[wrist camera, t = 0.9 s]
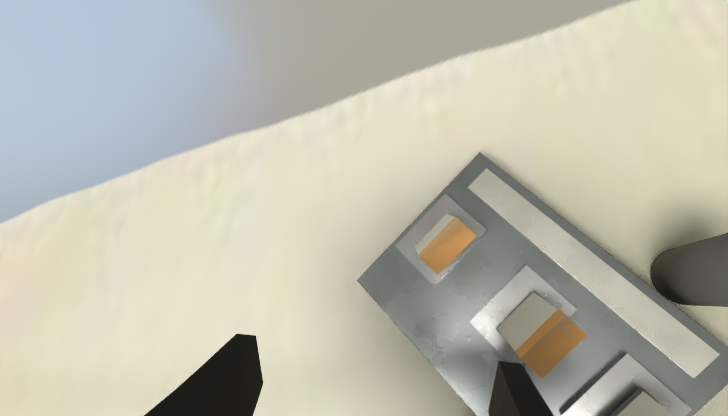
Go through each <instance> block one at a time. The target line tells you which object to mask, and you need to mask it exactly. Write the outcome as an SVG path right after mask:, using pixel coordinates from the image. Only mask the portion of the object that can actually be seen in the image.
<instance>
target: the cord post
mask: <svg viewBox="0 0 728 416" xmlns="http://www.w3.org/2000/svg"><path fill="white" fill-rule="evenodd" d="M651 277H652V281H653V283H654V285H655V287H656V289H657V290H658V291H659V292H660V293H661V294H662V295H663V296H664V297H666V298H667V299H669V300H671V301H673V302H675V303H679V304H683V305H699V306H724V307H728V233H726V234H723V235H719V236H716V237H712V238H709V239H705V240H702V241H698V242H695V243H692V244H688V245H685V246H681V247H678V248H674V249H671V250H668V251H665V252H664V253H662V254H660V255H659V256H658V257H657V258H656V259H655V261H654V263H653V265H652V269H651Z"/></svg>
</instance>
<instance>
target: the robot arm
mask: <svg viewBox="0 0 728 416" xmlns="http://www.w3.org/2000/svg"><path fill="white" fill-rule="evenodd" d="M262 385H263V379H262V373H261V366H260V360H259V354H258V347H257V341H256V336H253V335H243V334H236V335H235V336H234V337H233V338H232V339H230V340H229V341H228V342H227V343H226V344H225V345H224V346H223V347H222V348H221V349H220V350H219V351H218V352H216V353H215V354H214V355H213V356H212V357H211V358H210V359H209V360H208V361H207V362H206V363H205V364H204V365H202V366H201V367H200V368H199V369H198V370H197V371H196V372H195V373H194V374H193V375H191V376H190V377H189V378H188V379H187V380H186V381H185V382H184V383H182V384H181V385H180V386H179V387H178V388H177V389H176V390H174V391H173V392H172V393H171V394H170V395H169V396H167V397H166V398H165V399H164V400H163V401H161V402H160V403H159V404H158V405H156V406H155V407H154V408H153V409H152V410H150V411H149V412H148V413H147V414H146V415H144V416H253V413H254V410H255V407H256V404H257V401H258V398H259V395H260V392H261V388H262ZM488 412H489V416H554V415H553V413H552V411H551V410H550V408H549V407H548V405H547V404H546V402H545V401H544V399H543V397H542V396H541V394H540V393H539V391H538V389H537V388H536V386H535V385H534V383H533V381H532V380H531V378H530V376H529V375H528V373H527V371H526V369H525V368H524V366H523V365H522V364H521V363H512V362H503V361H498V366H497V371H496V375H495V380H494V385H493V390H492V395H491V400H490V405H489V410H488Z"/></svg>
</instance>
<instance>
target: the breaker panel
mask: <svg viewBox="0 0 728 416" xmlns="http://www.w3.org/2000/svg"><path fill="white" fill-rule="evenodd" d="M446 213H447V214H450V215H451V216H454V217H456V218H458V219H459V220H460V221H461V222H462V223H463V224H464V225H465V226H467V227H468V228H469V229H470V230H471V231H472V232H473V233H474V234H475V235H476V237H475V238H474V239H473V240H472V241H471V242H470V243H469V244H468V245H467V246H466V247H465V248H464V249H463V250H462V251H461V253H460V254H459V255H458V256H457V257H456V258H455V259H454V260H453V261H452V262H451V263H450V264H449V265H448V266H447V267H446V268H445V269H444V270H443V271H442V272H441V273H440V274H439V275H437V274H436V273H435V272H434V271H433V270H432V269H431V268H430V267H429V266H428V265H427V264H426V263H425V262H424V261H423V260H421V259H420V258H419V256H418V253H417V251H416V250H415V246H416V244H417V243H418V242H419V241H420V240H421V239H422V238H423V237H424V236H425V235H426V234H427V233H428V232H429V231H430V230H431V229H432V228H433V227H434V226H435V225H436V224H437V223H438V222H439V221H440V220H441V219H442V218H443V217H444V216H445V215H446ZM357 281H358V282H359V283H360V284H361V285H362V287H363V288H364V289H365V290H366V291H367V292H368V293H369V295H370V296H371V297H372V298H373V299H374V300H375V301H376V302H377V304H378V305H379V306H380V307H381V308H382V309H383V310H384V311H385V313H386V314H387V315H388V316H389V317H390V318H391V319H392V320H393V322H394V323H395V324H396V325H397V326H398V327H399V328H400V329H401V331H402V332H403V333H404V334H405V335H406V336H407V337H408V339H409V340H410V341H411V342H412V343H413V344H414V345H415V346H416V348H417V349H418V350H419V351H420V352H421V353H422V354H423V355H424V357H425V358H426V359H427V360H428V361H429V362H430V363H431V364H432V366H433V367H434V368H435V369H436V370H437V371H438V372H439V373H440V375H441V376H442V377H443V378H444V379H445V380H446V381H447V383H448V384H449V385H450V386H451V387H452V388H453V389H454V390H455V392H456V393H457V394H458V395H459V396H460V397H461V398H462V399H463V401H464V402H465V403H466V404H467V405H468V406H469V407H470V408H471V410H472V411H473V412H474V413H475V414H476V415H477V416H489V412H488V410H489V405H490V400H491V395H492V390H493V385H494V380H495V375H496V371H497V366H498V361H503V362H512V363H521V364H522V365H523V366H524V368H525V369H526V371H527V373H528V375H529V376H530V378H531V380H532V381H533V383H534V385H535V386H536V388H537V389H538V391H539V393H540V394H541V396H542V397H543V399H544V401H545V402H546V404H547V405H548V407H549V408H550V410H551V411H552V413H553V415H554V416H610V415H611V414H612V413H613V412H614V411H615V410H616V409H617V408H619V407H620V406H621V405H622V404H623V403H624V402H625V401H626V400H627V399H628V398H629V397H630V396H631V395H632V394H634V393H635V392H636V391H637V390H638V389H639V388H640V387H642V388H643V389H644V390H646V391H647V392H648V393H649V394H650V395H651V396H653V397H654V398H655V399H656V400H657V401H658V402H659V403H660V405H661V406H663V407H664V408H665V409H666V410H668V411H669V412H670V413H671V414H673V415H674V416H693V415H694V414H695V413H696V412H697V411H698V410H700V409H701V408H702V407H703V406H704V405H705V404H706V403H707V402H708V401H709V400H711V399H712V398H713V397H714V396H715V395H716V394H717V393H718V392H719V391H720V390H722V389H723V388H724V387H725V386H726V385H727V384H728V347H727V346H726V345H724V344H723V343H722V342H721V341H719V340H718V339H717V338H715V337H714V336H713V335H712V334H710V333H709V332H708V331H707V330H705V329H704V328H703V327H701V326H700V325H699V324H698V323H696V322H695V321H694V320H692V319H691V318H690V317H689V316H687V315H686V314H685V313H684V312H682V311H681V310H680V309H678V308H677V307H676V306H675V305H673V304H672V303H671V302H670V301H668V300H667V299H666V298H664V297H663V296H662V295H661V294H659V293H658V292H657V291H656V290H654V289H653V288H652V287H650V286H649V285H648V284H647V283H645V282H644V281H643V280H642V279H640V278H639V277H638V276H636V275H635V274H634V273H633V272H631V271H630V270H629V269H628V268H626V267H625V266H624V265H622V264H621V263H620V262H619V261H617V260H616V259H615V258H614V257H612V256H611V255H610V254H608V253H607V252H606V251H605V250H603V249H602V248H601V247H600V246H598V245H597V244H596V243H594V242H593V241H592V240H591V239H589V238H588V237H587V236H586V235H584V234H583V233H582V232H580V231H579V230H578V229H577V228H575V227H574V226H573V225H572V224H570V223H569V222H568V221H566V220H565V219H564V218H563V217H561V216H560V215H559V214H558V213H556V212H555V211H554V210H552V209H551V208H550V207H549V206H547V205H546V204H545V203H543V202H542V201H541V200H540V199H538V198H537V197H536V196H535V195H533V194H532V193H531V192H529V191H528V190H527V189H526V188H524V187H523V186H522V185H521V184H519V183H518V182H517V181H515V180H514V179H513V178H512V177H510V176H509V175H508V174H507V173H505V172H504V171H503V170H501V169H500V168H499V167H498V166H496V165H495V164H494V163H493V162H491V161H490V160H489V159H487V158H486V157H485V156H484V155H482V154H481V153H479V154H478V155H477V156H476V157H475V158H474V159H473V160H472V161H471V162H470V163H469V164H468V165H467V166H466V167H465V168H464V169H463V170H462V171H461V173H460V174H459V175H458V176H457V177H456V178H455V179H454V180H453V181H452V182H451V183H450V184H449V185H448V186H447V187H446V188H445V189H444V190H443V191H442V192H441V193H440V194H439V195H438V196H437V198H436V199H435V200H434V201H433V202H432V203H431V204H430V205H429V206H428V207H427V208H426V209H425V210H424V211H423V212H422V213H421V214H420V215H419V216H418V217H417V218H416V219H415V220H414V221H413V223H412V224H411V225H410V226H409V227H408V228H407V229H406V230H405V231H404V232H403V233H402V234H401V235H400V236H399V237H398V238H397V239H396V240H395V241H394V242H393V243H392V244H391V245H390V246H389V248H388V249H387V250H386V251H385V252H384V253H383V254H382V255H381V256H380V257H379V258H378V259H377V260H376V261H375V262H374V263H373V264H372V265H371V266H370V267H369V268H368V269H367V270H366V271H365V272H364V274H363V275H362V276H361V277H360V278H359V279H358V280H357ZM533 291H535V292H537V293H538V294H539V295H540V296H541V297H542V298H544V299H545V300H546V301H547V302H548V303H550V304H551V305H552V306H554V307H555V308H557V309H558V310H560V311H561V312H562V313H564V314H565V315H566V316H567V317H568V318H570V319H571V320H572V321H573V322H574V323H575V324H576V325H577V326H578V327H579V328H580V329H581V330H582V331H583V332H584V333H585V334H587V336H586V337H585V338H584V339H583V340H582V341H581V342H580V343H579V344H578V345H577V346H576V347H575V348H574V349H572V350H571V351H570V352H569V353H568V354H567V355H566V356H565V357H564V358H563V359H562V360H561V361H560V362H559V363H558V364H557V365H556V366H555V367H554V368H553V369H552V370H551V371H550V372H549V373H547V374H546V375H545V376H544V377H543V378H541V377H540V376H539V375H537V374H536V373H535V372H534V371H533V370H532V369H531V368H530V367H529V366H528V365H527V364H526V363H525V362H524V361H523V360H522V359H521V358H520V357H519V356H518V355H517V353H516V352H515V351H514V349H513V348H512V347H511V346H510V344H509V343H508V342H507V340H506V339H505V338H504V337H503V336H502V335H501V334H500V333H499V332H498V331H497V330H496V328H497V327H498V326H499V325H500V324H501V323H502V322H503V321H504V320H505V319H506V318H507V317H508V316H509V315H510V314H511V313H512V312H513V311H514V310H515V309H516V308H517V307H518V306H519V305H520V304H521V303H522V302H523V301H524V300H525V299H526V298H527V297H528V296H529V295H530V294H531V293H532V292H533Z"/></svg>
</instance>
